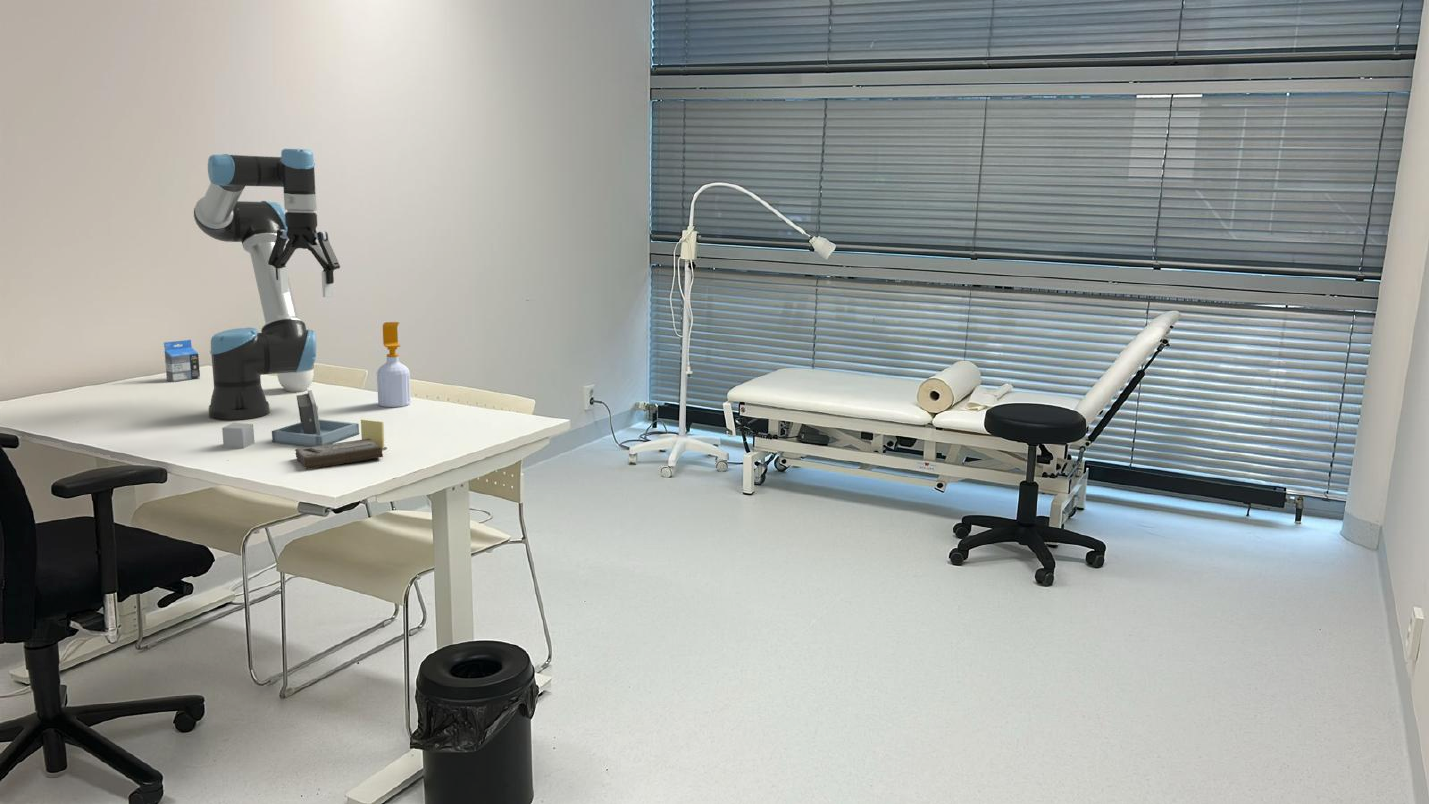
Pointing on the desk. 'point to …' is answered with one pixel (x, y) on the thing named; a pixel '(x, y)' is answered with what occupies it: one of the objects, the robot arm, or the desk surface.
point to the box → (338, 453)
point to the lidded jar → (296, 380)
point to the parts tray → (328, 429)
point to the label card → (373, 432)
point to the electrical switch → (308, 413)
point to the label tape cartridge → (181, 361)
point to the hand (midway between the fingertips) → (305, 295)
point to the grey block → (238, 435)
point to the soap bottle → (393, 373)
